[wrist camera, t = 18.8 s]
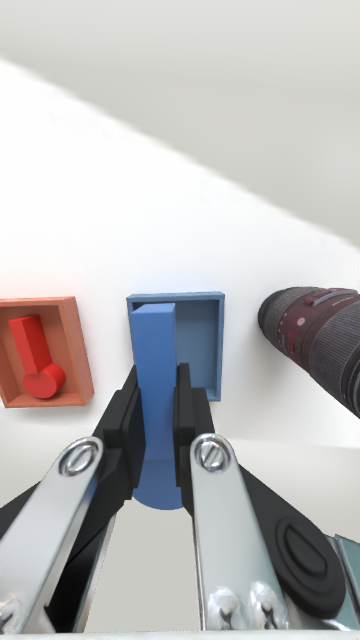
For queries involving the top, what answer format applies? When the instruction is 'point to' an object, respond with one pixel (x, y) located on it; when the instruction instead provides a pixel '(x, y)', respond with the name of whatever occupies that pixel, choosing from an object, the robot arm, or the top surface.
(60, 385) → the red spoon
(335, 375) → the camera lens
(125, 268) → the top surface
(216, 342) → the blue tray
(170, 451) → the blue spoon
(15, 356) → the red tray
